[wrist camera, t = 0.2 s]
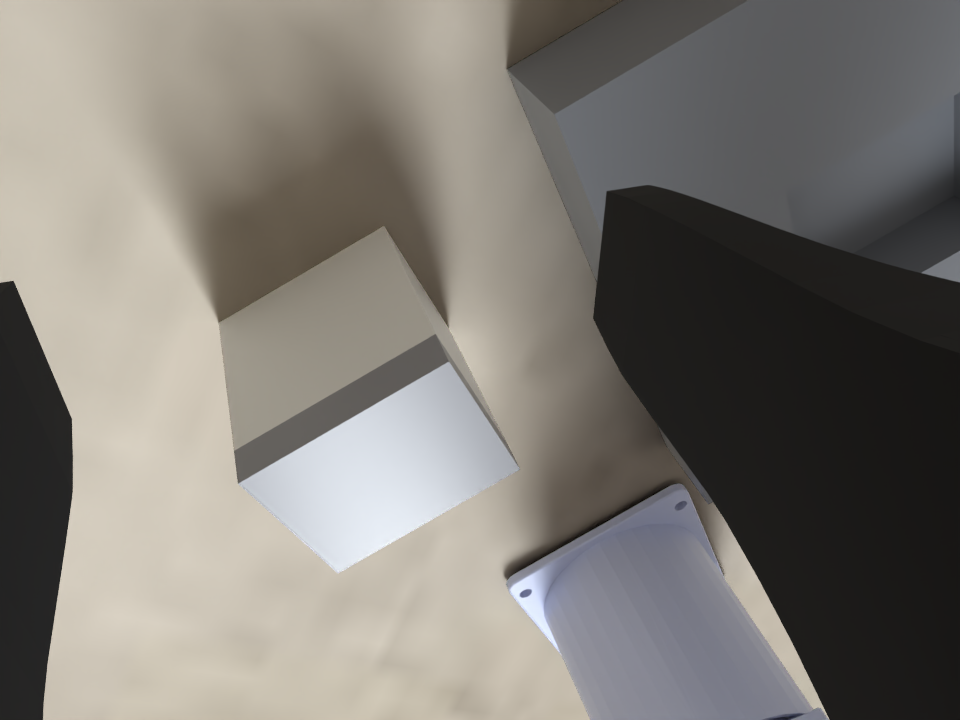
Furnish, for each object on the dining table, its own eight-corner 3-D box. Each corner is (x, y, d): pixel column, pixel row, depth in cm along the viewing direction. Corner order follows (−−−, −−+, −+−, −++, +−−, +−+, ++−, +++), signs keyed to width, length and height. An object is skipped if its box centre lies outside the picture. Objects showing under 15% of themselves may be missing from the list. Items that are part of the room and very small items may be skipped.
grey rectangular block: (448, 327, 23) (520, 468, 19) (301, 413, 24) (338, 573, 19) (383, 225, 21) (448, 361, 16) (218, 322, 21) (238, 483, 16)
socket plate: (1048, 228, 29) (1144, 282, 26) (666, 446, 30) (721, 521, 27) (1102, -283, 19) (1274, -286, 16) (506, 69, 19) (569, 128, 16)
